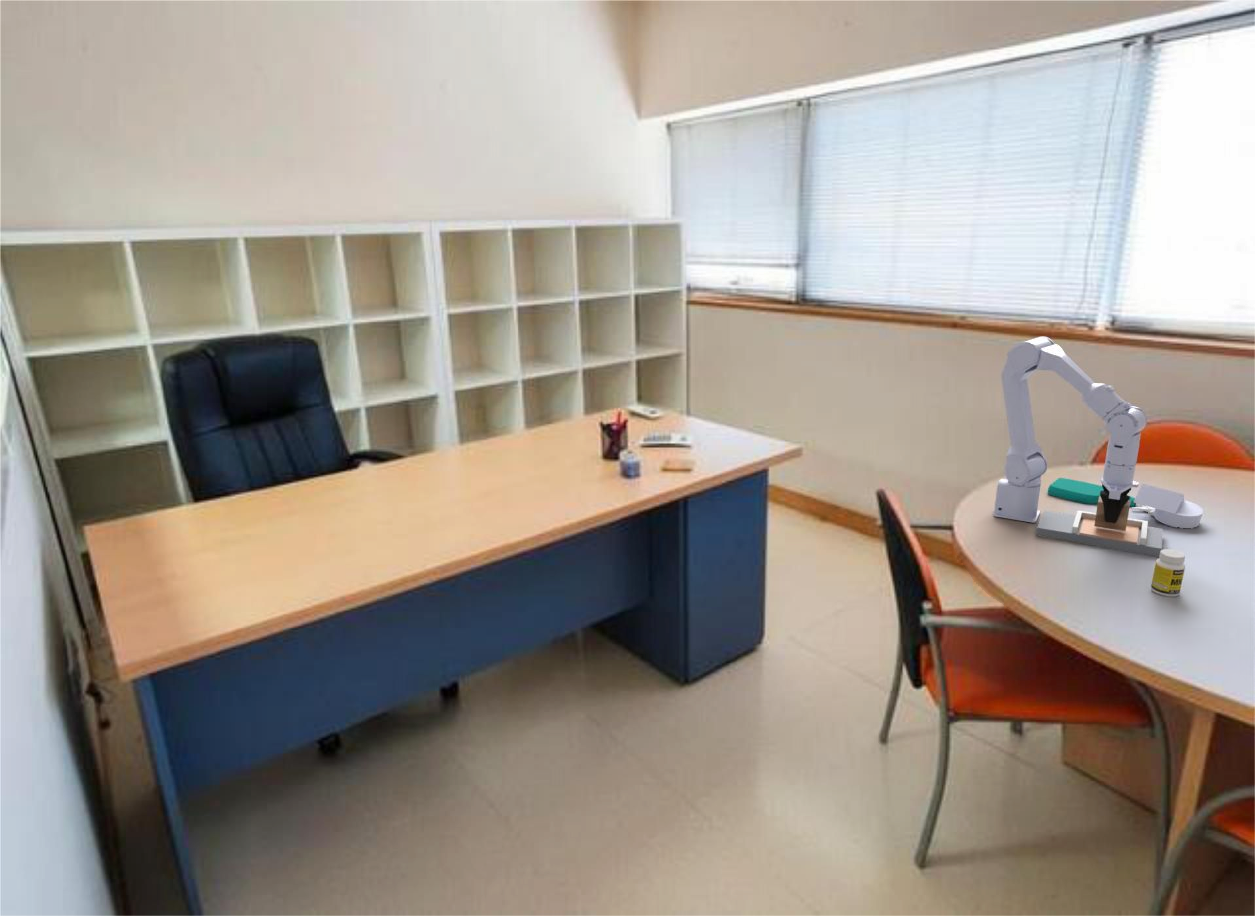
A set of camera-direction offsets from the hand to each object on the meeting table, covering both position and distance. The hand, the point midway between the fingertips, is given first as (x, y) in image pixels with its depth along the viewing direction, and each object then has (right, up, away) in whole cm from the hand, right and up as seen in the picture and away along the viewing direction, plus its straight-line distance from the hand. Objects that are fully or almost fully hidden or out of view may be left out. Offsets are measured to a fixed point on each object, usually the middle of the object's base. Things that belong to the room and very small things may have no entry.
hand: (1111, 518), depth 169 cm
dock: (-1, -4, +3) cm, 6 cm away
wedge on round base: (+20, 0, +10) cm, 22 cm away
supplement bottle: (-3, -13, -21) cm, 25 cm away
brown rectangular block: (0, -2, 0) cm, 2 cm away
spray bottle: (+13, +2, +23) cm, 27 cm away
